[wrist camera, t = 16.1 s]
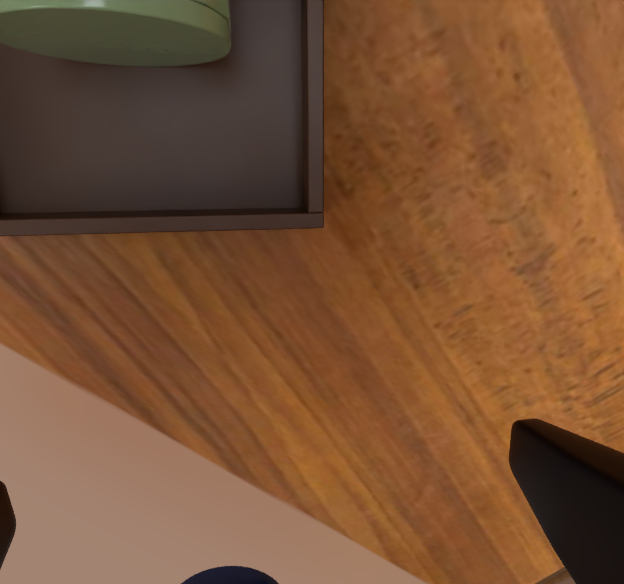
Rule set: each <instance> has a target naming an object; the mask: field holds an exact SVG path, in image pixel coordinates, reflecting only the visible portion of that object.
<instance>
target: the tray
mask: <svg viewBox="0 0 624 584" xmlns="http://www.w3.org/2000/svg"><path fill="white" fill-rule="evenodd" d="M230 6H231V26H232V30H231V51H230V52H229V54H227V55H226V56H224V57H222V58H220V59H217V60H214V61H210V62H206V63H200V64H193V65H183V66H164V67H143V66H120V65H107V64H97V63H88V62H80V61H73V60H67V59H61V58H55V57H50V56H45V55H40V54H36V53H32V52H28V51H24V50H21V49H17V48H14V47H11V46H8V45H6V44H3V43H1V42H0V236H28V235H68V234H109V233H149V232H189V231H229V230H270V229H310V228H323V227H324V214H323V211H324V0H230Z"/></svg>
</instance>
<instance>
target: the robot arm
mask: <svg viewBox="0 0 624 584" xmlns="http://www.w3.org/2000/svg"><path fill="white" fill-rule="evenodd" d="M509 464H510V468H511V470H512V473H513V475H514V476H515V478H516V480H517V482H518V484H519V486H520V488H521V490H522V491H523V493H524V495H525V497H526V499H527V501H528V503H529V505H530V506H531V508H532V510H533V512H534V514H535V516H536V518H537V519H538V521H539V523H540V525H541V527H542V529H543V531H544V533H545V534H546V536H547V538H548V540H549V542H550V543H551V545H552V547H553V549H554V550H555V552H556V554H557V555H558V557H559V558H560V560H561V561H562V563H563V565H564V566H565V568H566V569H567V571H568V572H569V574H570V575H571V577H572V578H573V579H574V581H575V583H576V584H624V453H622V452H619V451H617V450H614V449H612V448H609V447H607V446H604V445H602V444H599V443H597V442H594V441H592V440H589V439H587V438H584V437H582V436H579V435H577V434H574V433H572V432H569V431H567V430H564V429H562V428H559V427H557V426H554V425H552V424H549V423H547V422H544V421H542V420H539V419H525V420H517V421H516V422H514V423H513V425H512V429H511V440H510V451H509ZM15 529H16V519H15V515H14V511H13V508H12V505H11V502H10V498H9V495H8V492H7V489H6V486H5V484H4V483H3V482H1V481H0V569H1V566H2V564H3V561H4V559H5V556H6V554H7V552H8V549H9V547H10V544H11V542H12V539H13V537H14V534H15Z"/></svg>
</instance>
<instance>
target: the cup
mask: <svg viewBox="0 0 624 584" xmlns="http://www.w3.org/2000/svg"><path fill="white" fill-rule="evenodd" d="M231 30H232V26H231V6H230V0H0V42H1V43H3V44H6V45H8V46H11V47H14V48H17V49H21V50H24V51H28V52H32V53H36V54H40V55H45V56H50V57H55V58H61V59H67V60H73V61H80V62H88V63H97V64H107V65H120V66H143V67H164V66H183V65H193V64H200V63H206V62H210V61H214V60H217V59H220V58H222V57H224V56H226V55H227V54H229V52H230V51H231Z"/></svg>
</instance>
